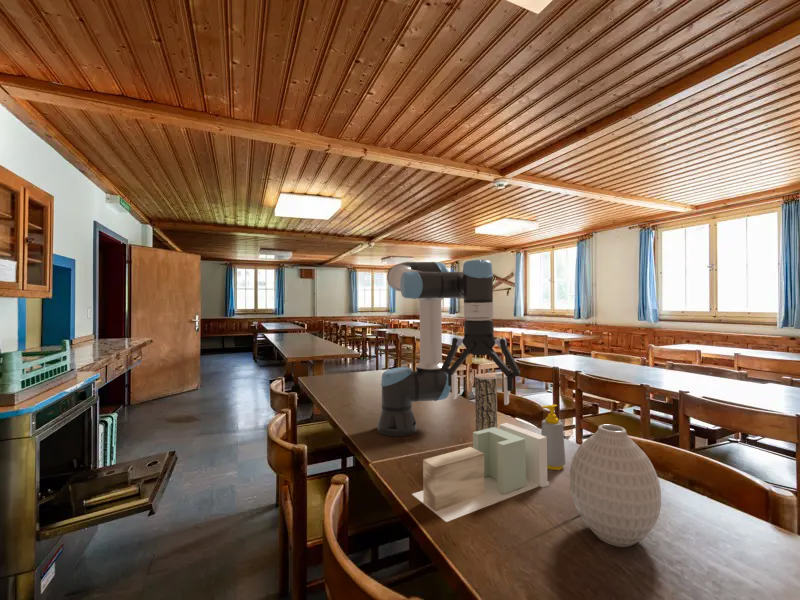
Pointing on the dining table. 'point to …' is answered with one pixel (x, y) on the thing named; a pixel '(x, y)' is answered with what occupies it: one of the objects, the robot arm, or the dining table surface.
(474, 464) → the beige wooden block
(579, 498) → the vase
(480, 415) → the bark log
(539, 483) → the track
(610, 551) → the dining table surface
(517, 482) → the socket block
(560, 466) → the soap bottle
